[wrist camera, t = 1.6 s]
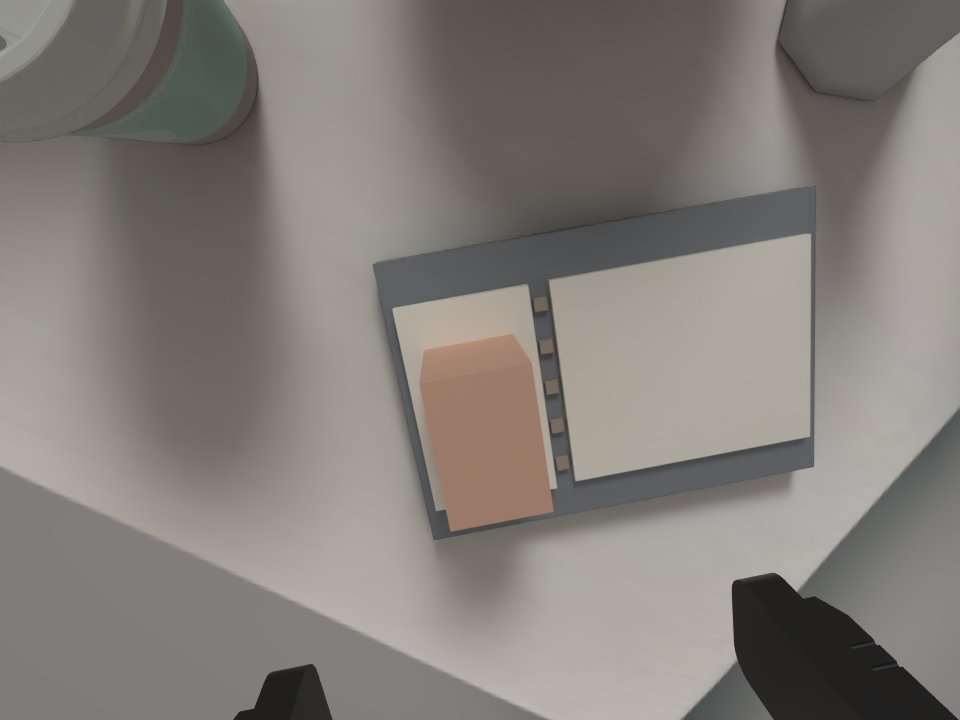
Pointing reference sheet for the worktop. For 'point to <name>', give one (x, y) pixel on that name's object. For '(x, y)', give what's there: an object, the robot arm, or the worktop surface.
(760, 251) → the board
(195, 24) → the coffee cup
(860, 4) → the flask
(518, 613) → the worktop surface
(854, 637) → the robot arm
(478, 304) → the ticket stub
